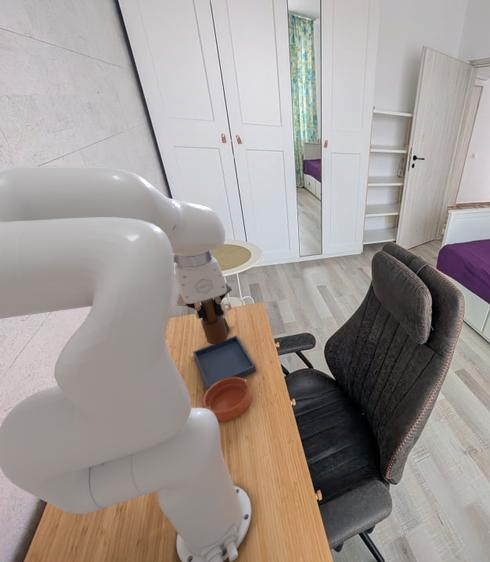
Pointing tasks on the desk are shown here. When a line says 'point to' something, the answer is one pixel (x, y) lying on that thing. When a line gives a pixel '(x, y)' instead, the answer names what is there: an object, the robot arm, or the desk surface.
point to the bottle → (213, 323)
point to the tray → (224, 361)
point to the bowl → (228, 398)
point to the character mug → (221, 312)
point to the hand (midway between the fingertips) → (211, 316)
